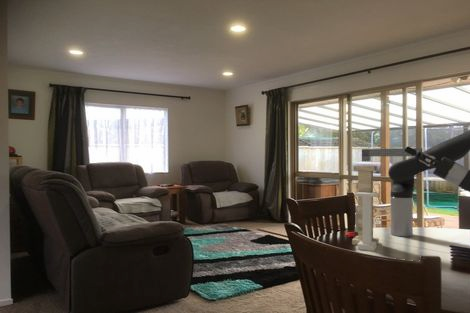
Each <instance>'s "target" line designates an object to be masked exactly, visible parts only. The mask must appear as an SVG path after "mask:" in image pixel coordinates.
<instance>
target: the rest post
mask: <svg viewBox="0 0 470 313" xmlns="http://www.w3.org/2000/svg"><path fill="white" fill-rule="evenodd" d="M358 196H362V241H360V242H359V243H358V244H357V245H356V246H357V250H360V251H369V252H375V250H376V249H377V246H376V243H375V242H372V197H373V198H378V197H379V196H380V192H373V193H367V192H358V191H357V192H354V197H358Z"/></svg>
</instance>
